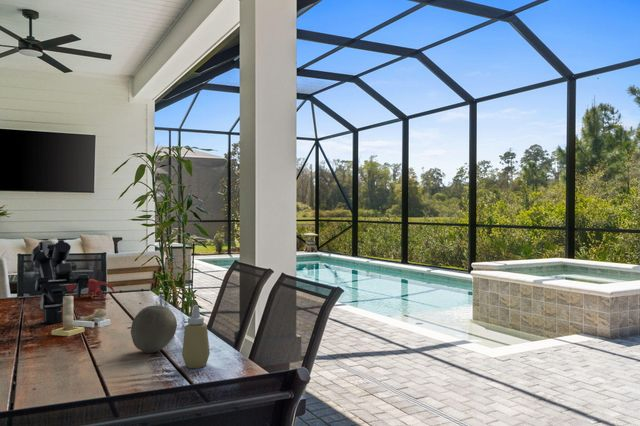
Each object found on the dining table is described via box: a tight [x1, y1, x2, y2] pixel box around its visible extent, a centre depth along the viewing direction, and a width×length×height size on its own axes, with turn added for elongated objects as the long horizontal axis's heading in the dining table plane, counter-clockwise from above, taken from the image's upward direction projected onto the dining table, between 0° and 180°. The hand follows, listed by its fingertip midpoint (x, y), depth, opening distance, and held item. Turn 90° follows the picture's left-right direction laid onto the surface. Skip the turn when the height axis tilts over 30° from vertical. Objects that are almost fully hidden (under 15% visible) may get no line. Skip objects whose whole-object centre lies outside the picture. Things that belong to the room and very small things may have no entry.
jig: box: [51, 316, 111, 337], centre depth 204 cm, size 16×23×2 cm
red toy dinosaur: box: [65, 278, 115, 299], centre depth 282 cm, size 28×9×15 cm
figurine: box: [75, 308, 107, 322], centre depth 212 cm, size 4×4×15 cm
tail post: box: [62, 295, 75, 331], centre depth 196 cm, size 4×4×14 cm
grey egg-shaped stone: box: [130, 305, 178, 354], centre depth 169 cm, size 14×14×15 cm
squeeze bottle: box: [181, 304, 211, 369], centre depth 152 cm, size 8×8×18 cm
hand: (66, 299), depth 198 cm, fingers open, 9 cm apart
